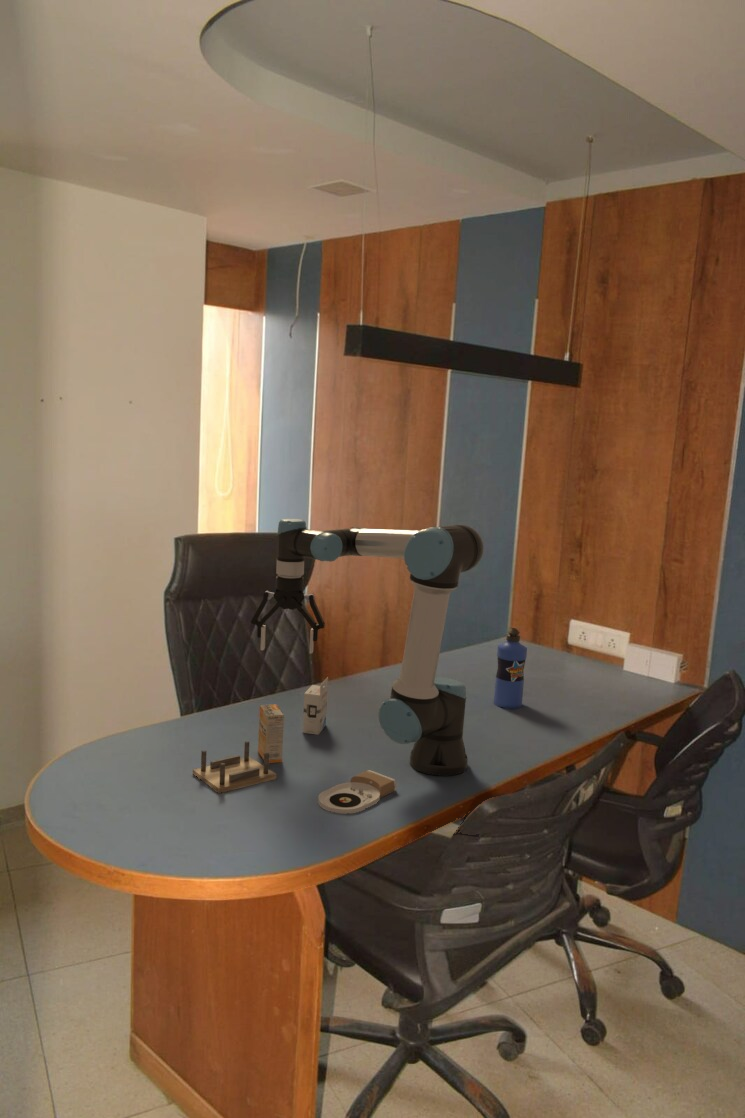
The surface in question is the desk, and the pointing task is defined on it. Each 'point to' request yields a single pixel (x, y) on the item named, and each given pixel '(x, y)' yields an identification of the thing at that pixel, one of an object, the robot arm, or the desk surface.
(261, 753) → the supplement box
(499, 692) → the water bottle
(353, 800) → the record player
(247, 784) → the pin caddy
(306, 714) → the ink box
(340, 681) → the desk surface
